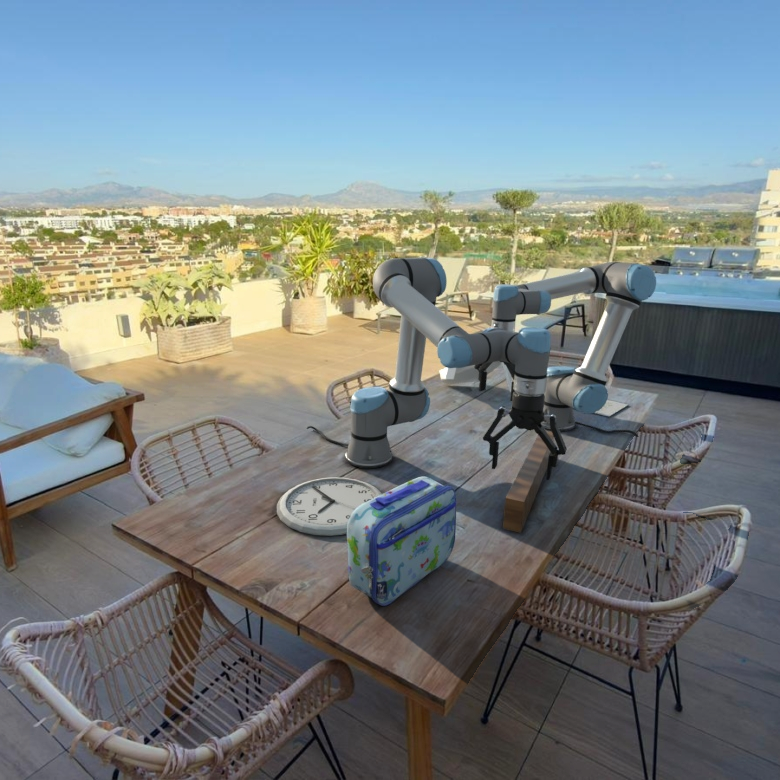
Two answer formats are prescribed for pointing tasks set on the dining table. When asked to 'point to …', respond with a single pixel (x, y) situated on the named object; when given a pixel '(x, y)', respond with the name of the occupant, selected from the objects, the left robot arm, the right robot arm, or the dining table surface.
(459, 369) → the white plastic object
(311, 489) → the wall clock
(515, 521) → the board
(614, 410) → the invitation card
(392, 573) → the lunch box
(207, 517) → the dining table surface
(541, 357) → the left robot arm
